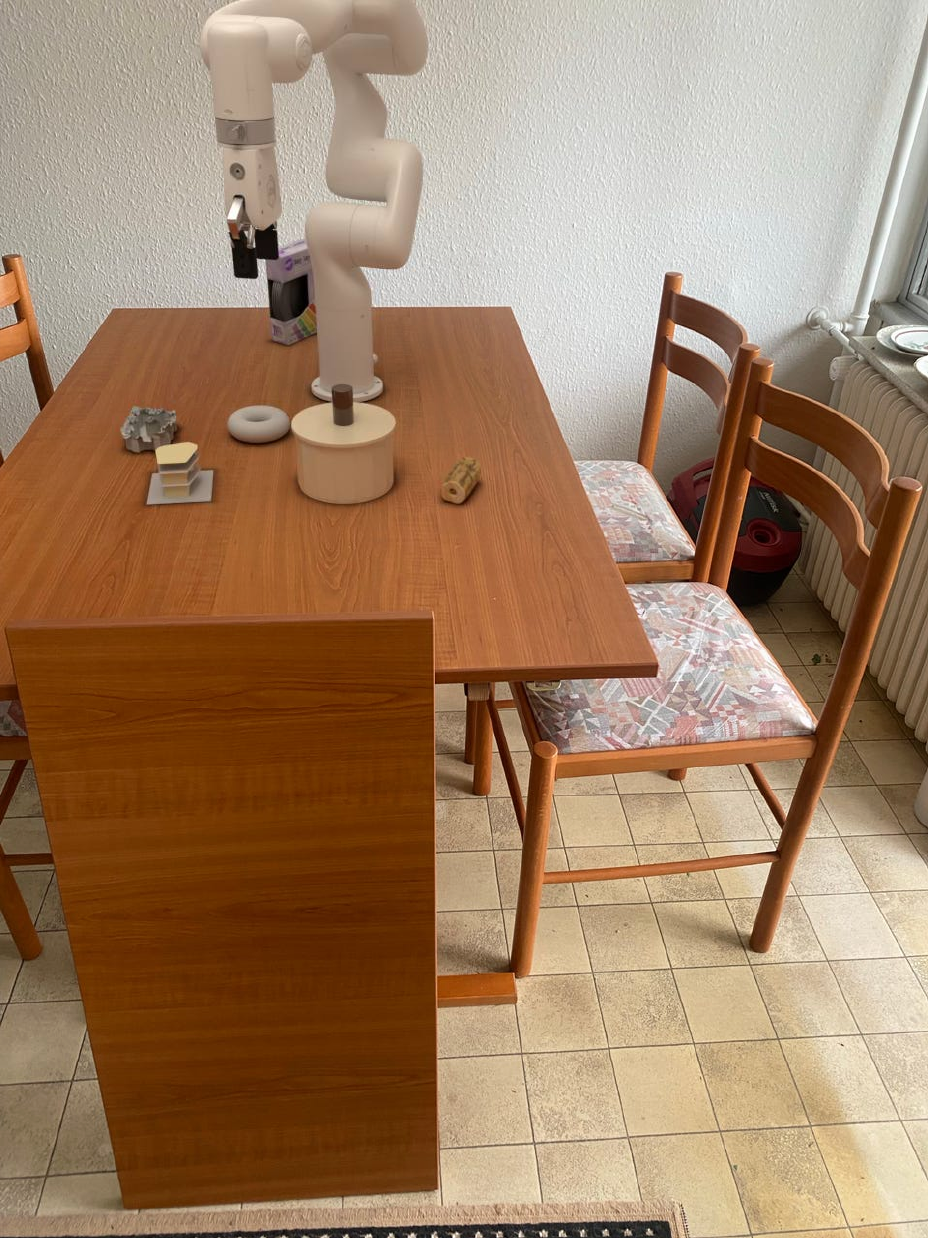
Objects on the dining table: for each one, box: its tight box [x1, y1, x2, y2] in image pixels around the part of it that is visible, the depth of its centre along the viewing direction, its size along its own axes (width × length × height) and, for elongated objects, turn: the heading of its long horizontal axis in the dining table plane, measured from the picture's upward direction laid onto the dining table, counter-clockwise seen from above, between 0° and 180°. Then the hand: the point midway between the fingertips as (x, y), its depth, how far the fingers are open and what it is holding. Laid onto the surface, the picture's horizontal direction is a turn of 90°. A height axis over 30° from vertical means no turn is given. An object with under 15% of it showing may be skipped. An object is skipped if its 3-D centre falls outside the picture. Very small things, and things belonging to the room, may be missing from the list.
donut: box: [226, 405, 291, 444], centre depth 167 cm, size 10×4×10 cm
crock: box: [294, 432, 395, 505], centre depth 152 cm, size 14×14×9 cm
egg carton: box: [119, 405, 178, 454], centre depth 164 cm, size 11×8×4 cm
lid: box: [290, 384, 397, 448], centre depth 148 cm, size 15×15×6 cm
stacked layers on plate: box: [146, 441, 214, 505], centre depth 150 cm, size 10×9×6 cm
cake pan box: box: [264, 237, 317, 346], centre depth 204 cm, size 19×5×18 cm, turn 147°
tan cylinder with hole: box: [440, 456, 482, 505], centre depth 151 cm, size 8×4×4 cm, turn 162°
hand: (257, 268), depth 142 cm, fingers open, 9 cm apart
